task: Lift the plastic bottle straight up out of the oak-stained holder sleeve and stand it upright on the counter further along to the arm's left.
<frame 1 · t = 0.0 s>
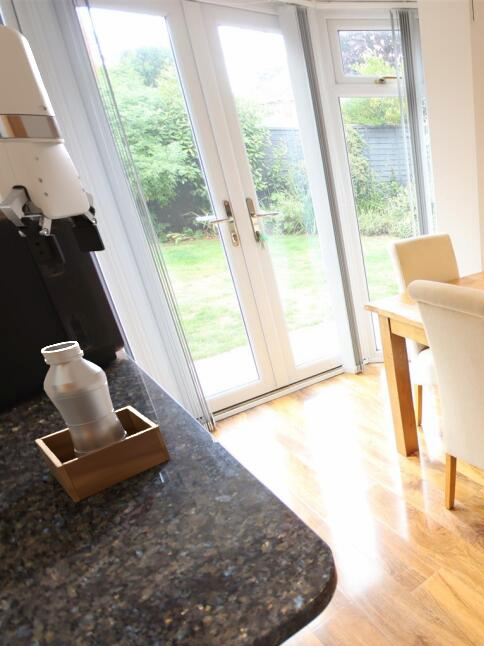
hand: (73, 257, 69), 30 cm above the kitchen counter, tool pointing down, fingers open, 9 cm apart
holder: (112, 466, 71), on the kitchen counter
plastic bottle: (112, 467, 71), resting in holder
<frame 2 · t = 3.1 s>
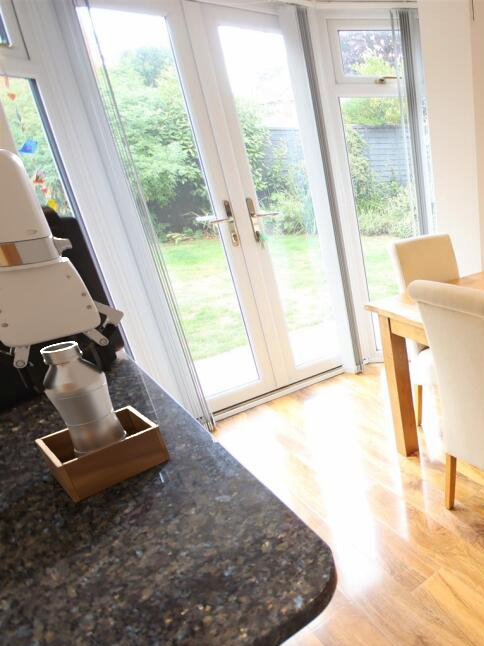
hand: (73, 378, 65), 15 cm above the kitchen counter, tool pointing down, fingers closed on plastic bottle, 6 cm apart
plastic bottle: (112, 466, 71), resting in holder, touching gripper
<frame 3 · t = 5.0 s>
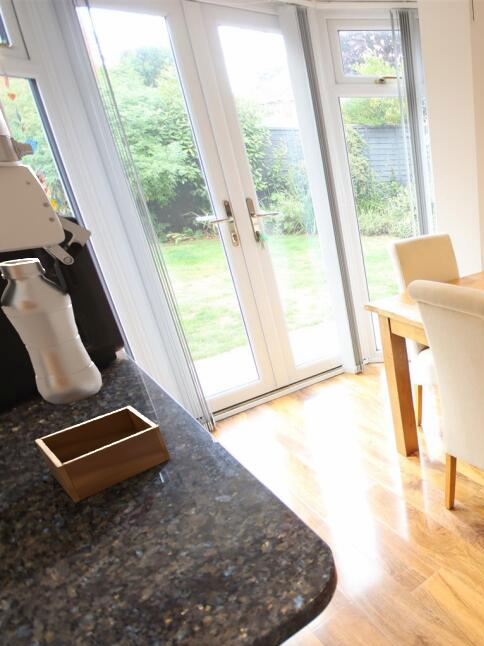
hand: (35, 298, 61), 27 cm above the kitchen counter, tool pointing down, fingers closed on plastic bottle, 6 cm apart
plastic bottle: (78, 399, 67), point 12 cm above the kitchen counter, touching gripper
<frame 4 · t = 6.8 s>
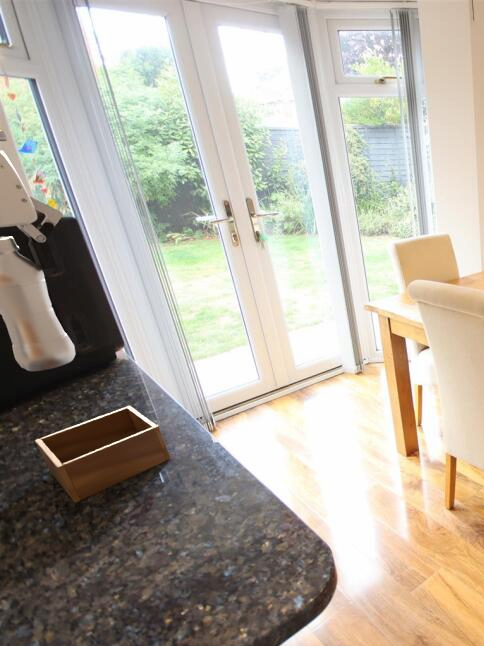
hand: (10, 273, 67), 29 cm above the kitchen counter, tool pointing down, fingers closed on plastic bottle, 6 cm apart
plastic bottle: (53, 368, 72), point 14 cm above the kitchen counter, touching gripper
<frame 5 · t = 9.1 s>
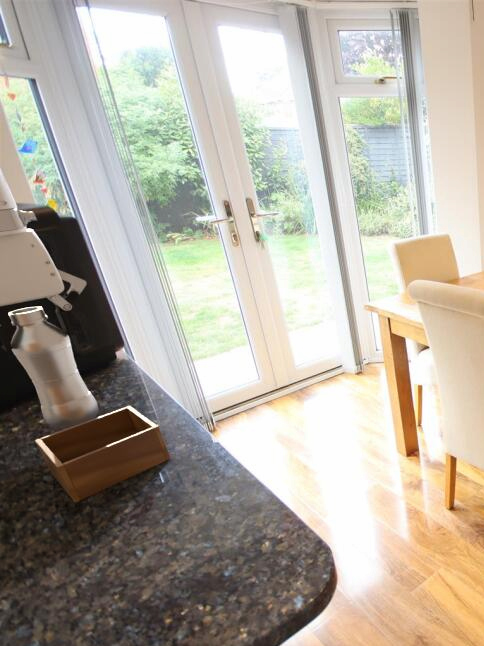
hand: (39, 340, 72), 18 cm above the kitchen counter, tool pointing down, fingers closed on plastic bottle, 6 cm apart
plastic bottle: (77, 423, 77), point 3 cm above the kitchen counter, touching gripper
when the fingers open (15 cm above the kitchen counter, at t = 10.5 s): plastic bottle stays where it is, on the kitchen counter.
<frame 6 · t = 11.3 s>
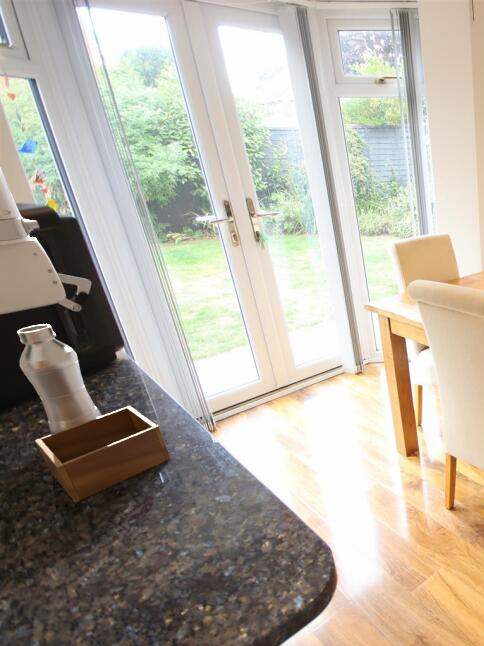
hand: (39, 343, 72), 17 cm above the kitchen counter, tool pointing down, fingers open, 9 cm apart
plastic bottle: (84, 438, 79), on the kitchen counter
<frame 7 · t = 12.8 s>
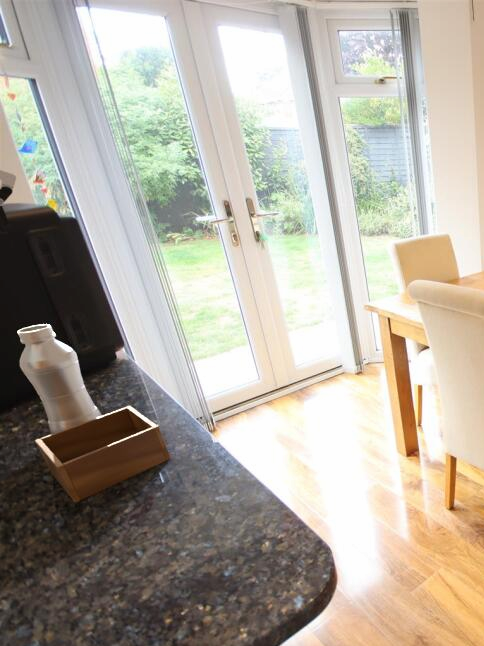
nothing on the kitchen counter moved.
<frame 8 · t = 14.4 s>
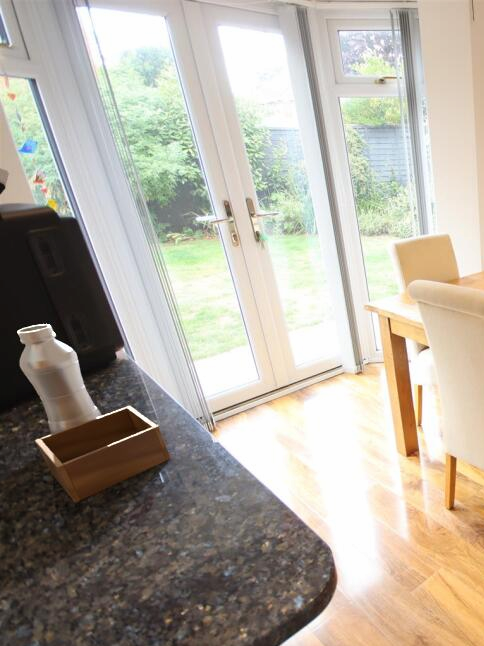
nothing on the kitchen counter moved.
at the end: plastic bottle inside the target area (0.0 cm from its centre), on the kitchen counter; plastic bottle tilted 0°; the gripper is holding nothing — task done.
